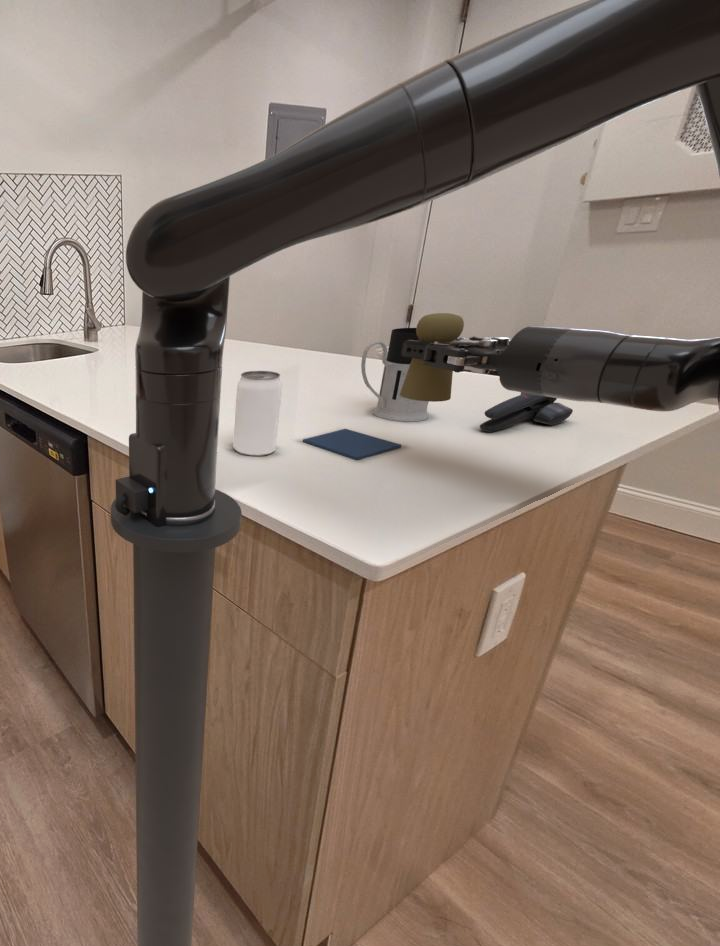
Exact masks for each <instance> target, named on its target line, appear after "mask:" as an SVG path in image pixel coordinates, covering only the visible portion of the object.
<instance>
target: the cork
mask: <svg viewBox="0 0 720 946" xmlns="http://www.w3.org/2000/svg"><path fill="white" fill-rule="evenodd" d="M464 327H465V322H464V319H463V317H462V316H461V315H459V314H454V313H449V312H436V313H430V314H425V315H424V316H422V317H421V318H420V319H419V320H418V322H417V324H416V327H415V328H416V334H417V336H418V338H419V341H425V342H434V341H438V342H441V343H451V342H452V341H455V340H456V339H457V338H460V337H461V334H463V330H464ZM423 360H424V359H416V358H412V361H411V363H410V366H409V369H408V372H407V375H406V378H405V380H404V383H403V386H402V389H401V392H400V396H402V397H404V398H407V399H412V400H418V401H429V403H430V402H431V403H432V402H433V403H434V402H436V403H437V402H438V403H439V402H446V401H450V400H451V398H452V385H453V373H454V371H450V370H446V369H442V368H437V367H433V366H429V365H425V364H422V363H423Z"/></svg>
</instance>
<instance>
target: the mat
mask: <svg viewBox="0 0 720 946" xmlns="http://www.w3.org/2000/svg"><path fill="white" fill-rule="evenodd" d="M302 443H305V444H308V445H312V446H314V447H316V448H320V449H322V450H326V451H329V452H332V453H334V454H338V455H340V456H344V457H347V458H350V459H353V460H356V461H359V460H361V459H364V458H369V457H372V456H375V455H378V454H382V453H385V452H388V451H389V452H390V451H392V450H393V451H394V450H396V449H399V448H401V447H402V444H400V443H396V442H393V441H390V440H386V439H383V438H380V437H376V436H372V435H368V434H365V433H363V432H362V433H361V432H359V431H356V430H351V429H347V428H344V429H339V430H336V431H330V432H327V433H323V434H319V435H315V436H311V437H308V438H303V439H302Z"/></svg>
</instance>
